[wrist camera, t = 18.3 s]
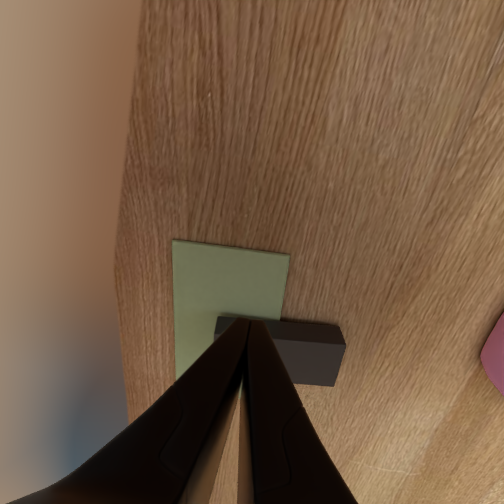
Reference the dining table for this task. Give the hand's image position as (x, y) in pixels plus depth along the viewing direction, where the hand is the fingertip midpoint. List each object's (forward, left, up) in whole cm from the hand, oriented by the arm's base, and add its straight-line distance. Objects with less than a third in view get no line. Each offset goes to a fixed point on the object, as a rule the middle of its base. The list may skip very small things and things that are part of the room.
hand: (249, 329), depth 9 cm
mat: (-9, -7, -13) cm, 17 cm away
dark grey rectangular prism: (-9, -7, -10) cm, 16 cm away
